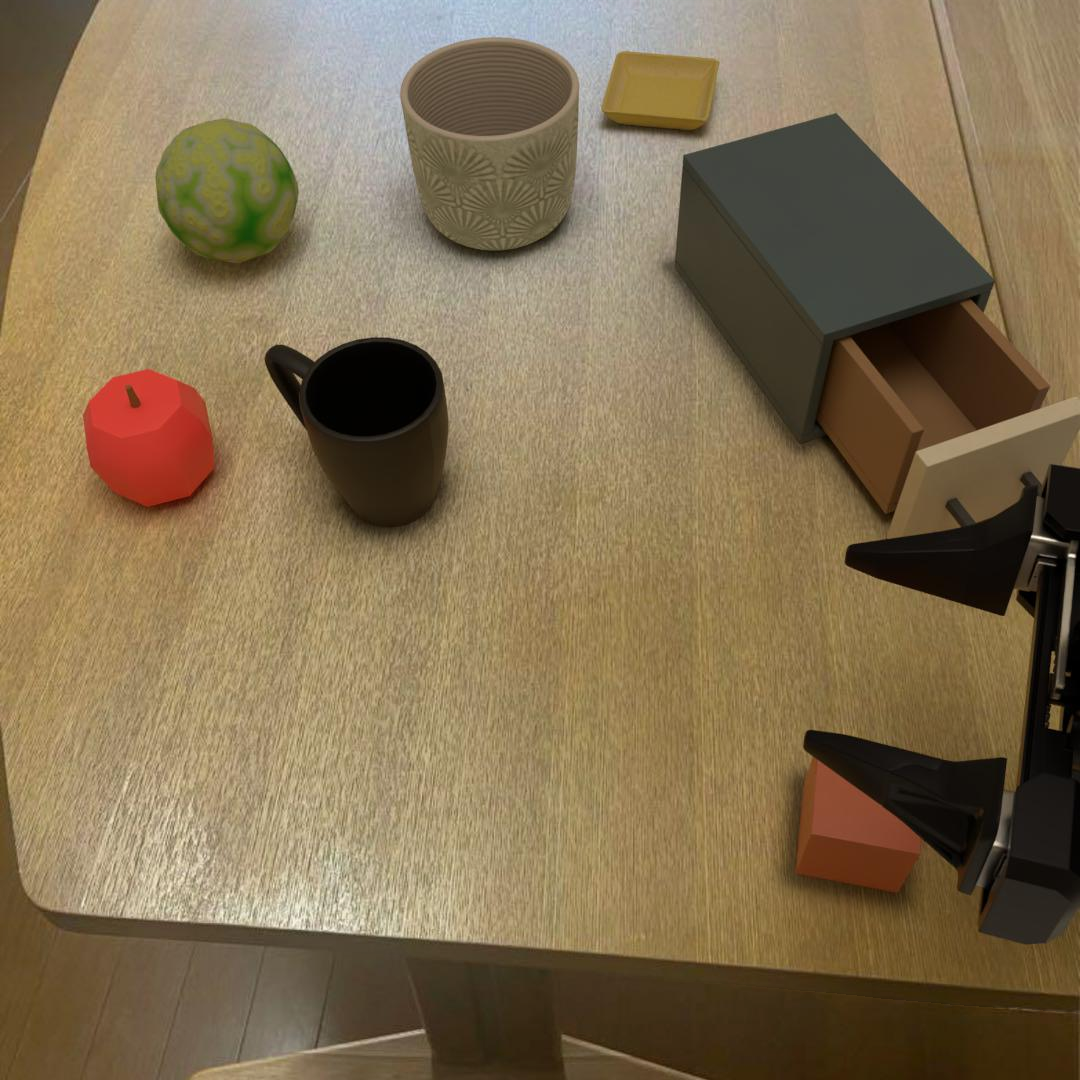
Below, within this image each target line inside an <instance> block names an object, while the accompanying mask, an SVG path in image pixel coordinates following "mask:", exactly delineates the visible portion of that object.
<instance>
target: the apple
mask: <svg viewBox="0 0 1080 1080" xmlns="http://www.w3.org/2000/svg"><path fill="white" fill-rule="evenodd" d="M82 419H83V427H84V429H83V430H84V438H85V445H86V447H85V448H86V452H87V457H88V461H89V466H90V468H91V469H92V470H93V472H94V473H95V474H96V475H97V476H98V477H99V478H100V479H101V480H102V481H103V482H104V483H105V484H106V486H108V487H109V489H110V490H112V492H113V493H115V494H117V495H119V496H122V497H124V498H126V499H128V500H131V501H133V502H135V503H137V504H139V505H142V506H145V507H146V508H148V507H152V506H157V505H160V504H164V503H167V502H171V501H176V500H179V499H180V500H181V499H183V498H187V497H191V495H192V494H193V493H194V492H195V491H196V490H197V488H198V487H199V486H200V485H201V484H202V483H203V481H204V480H205V479H206V478H207V477H208V476H209V475H210V474H211V473H212V471H213V470H214V469H215V468H216V463H215V462H216V461H215V453H214V440H213V433H212V429H211V423H210V418H209V413H208V408H207V403H206V402H205V400H204V399H203V397H202V395H201V394H200V393H199V391H198V390H197V389H196V388H195V387H193V386H192V385H190V384H187V383H185V382H183V381H180V380H178V379H175V378H172V377H170V376H168V375H166V374H162V373H160V372H158V371H155V370H152V369H150V368H146V369H143V370H138V371H134V372H129V373H125V374H121V375H116V376H112V377H111V379H109V380H108V382H107V383H105V384H104V386H102V387H101V388H100V390H98V391H97V392H96V393H95V394H94V396H93V397H91V399H89V400H88V404H87V405H86V407H85V409H84V411H83V413H82Z"/></svg>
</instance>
